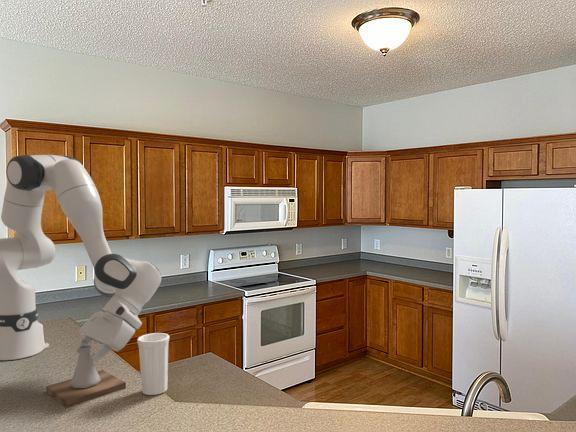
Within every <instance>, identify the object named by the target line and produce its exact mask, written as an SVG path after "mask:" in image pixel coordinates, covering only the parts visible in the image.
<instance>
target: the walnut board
mask: <svg viewBox="0 0 576 432" xmlns="http://www.w3.org/2000/svg"><path fill="white" fill-rule="evenodd" d="M97 372H98V374H99V376H100V379H101V381H100V382H99V383H97V384H96V385H94V386H91V387H88V388H73V387H71V386H70V383H71V380H72V378H69V379H66V380H63V381H59V382H55V383H53V384H48V385H46V393H47V394H48V395H50V396H52V398H54V399H55V400H56V401H58V402H59V403H61V405H63V406H64V407H66V408H70V407H74V406H76V405H79V404H82V403H85V402H88V401H92V400H94V399H97V398H101V397H103V396H107V395H109V394H112V393H116V392H118V391H121V390H125V389H127V383H126V381H124V380H122V379H120V378H118V377H116V376H115V375H113V374H111V373H110V372H107V371H105V370H103V369H101V370H97Z"/></svg>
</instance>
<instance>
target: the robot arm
mask: <svg viewBox="0 0 576 432" xmlns="http://www.w3.org/2000/svg"><path fill="white" fill-rule="evenodd" d="M5 171H6V173H5V174H6V178H7V184H6V188H5V192H4V197H3V202H2V203H3V204H2V208H1V209H2V210H1V215H0V216H1V218H0V219H1V221H2V223H3V225H5V227H7V228H8V229H10V230H12V231H15V232H16V234H15V236H13V237H6V238H5V237H4V238H0V361H12V360H19V359H25V358H27V357H28V358H29V357H31V356H35V355H38V354H39V353H41V352H42V351H43V350H45V349H47V348H49V347H50V344H49V343H48V342H45V337H44V326H43V324H42V323H40V322H39V321H38V316H39V313H38V309H37V303H36V288H35V287H34V285H33V284H32V283H30V282H29V281H27V280H22V279H20V278H19V275H18V271H20V270H29V269H35V268H36V269H37V268H39V267H43V266H46V265H48V264H51V263H52V262H53V261H54V258H55V257H56V246H55V243H54V242H53V241H52V239H50V237H48V236H46V235H45V233H44V231H43V229H42V214H43V207H44V202H45V194H46V191H47V192H48V191H53V192H54V195H55V198H56V200H57V202H58V204H59V206H60V208H61V210H62V211H63V214H64V216H65V217H66V218H67V221H69V222H70V224H71V225H72V227H73V228H74V230H75V231H76V233H77V234H78V236H79V238H80V239H81V241H82V242H83V245H84V247H85V250H86V252H87V254H88V257H89V259H90V262H91V264H92V267H93V274H94V275H93V285H94V288H95V290H96V292H97V293H98V294H99V295H101V296H103V297H107V298H110V299H109V301H108V302H106V304H105V305H104V306H103V308H102V309H100V310H99V311H96V312H94V313H93V314H92V315H91V316H90V317H89V318H88V319H87V320H86V321H85V323H83V325H82V326H81V327H80V328H79V334H81V335H82V337H81V338H80V341H79V344H78V346H77V347H76V348H75V352H76V353H77V354H79V350H78V349H77V348H78V347H79V346H83V345H89V344H91V342H92V341H93V342H95V343H97V344H100V348H99V349H98V350H97V351H96V352H93V353H92V354H91V357H90V359H91V360H92V361H93V363H96V364H97V363H98V362H99V361H100V360H101V359H102V358H103V357H104V356H105V355H107V354H108V353H109V352H110V351H111V350H112V351H115V352H120V351H121V350H122V349H123V348H125V346H126V345H127V343H128V342H129V341H130V340H131V339H132V337H133V336H134V335H135V333H136V330H139V329H140V328H141V326H142V324H143V322H142V321H141V319H140V318H139V316H138V315H139V314H140V313H141V311H142V309H143V306H145V304H147V303H148V302H149V301H150V300H151V298H152V297H153V296H154V294H155V293H156V292H157V290H158V288H159V287H160V285H161V282H162V274H161V272H160V270H159V269H158V268H157V266H156V265H154V264H153V263H152V262H150V261H148V260H136V259H131V258H127V257H126V256H125V257H124V256H122V255H120V254H117V253H112V251H111V248H110V246H109V243H108V241H107V239H106V235H105V233H104V226H103V225H104V223H103V221H104V220H103V219H104V218H103V211H104V210H103V205H102V201H101V197H100V194H99V192H98V189H97V187H96V184H95V182H94V181H93V178H92V177H91V175H90V174H89V172H88V171H87V169H86V168H85V167H84V165H83V164H82V163H81V162H80V161H79V160H78V159H77V158H75V157H72V156H68V155H56V154H46V153H45V154H34V155H33V154H31V155H28V154H20V155H16V156H14V157H12V158H11V159H10V160H9V162H8V163H7V165H6V169H5Z"/></svg>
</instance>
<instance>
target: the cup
mask: <svg viewBox="0 0 576 432" xmlns="http://www.w3.org/2000/svg"><path fill="white" fill-rule="evenodd" d="M136 342H137V346H138V351H139V352H138V353H139V366H140V375H141V376H140V377H141V379H140V380H141V391H142V394H145V395H147V396H154V395H160V394H163V393H164V392H167V390H168V382H169V381H168V375H169V369H168V368H169V342H170V335H169V334H168V333H164V332H153V333H146V334H143V335H141V336H138V338H137V340H136Z"/></svg>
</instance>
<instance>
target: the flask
mask: <svg viewBox="0 0 576 432" xmlns="http://www.w3.org/2000/svg"><path fill="white" fill-rule="evenodd" d="M78 346H79V345H78ZM78 346H77V347H78ZM77 347H76V348H77ZM91 348H92V345H89V344H87V345H83V346H79V347H78V348H77V349H78V350H79V353H78V357H77V358H78V359H77V362H76V366H75V370H74V372H73V375H72V377H71V379H72V380H71V383H70V386H71V387H73V388H88V387H91V386H94V385H96V384H97V383H99V382H100V381H101V379H100V376H99V374H98V372H97V371H98V370H97V369H96V366H95V364H94V361H92V360H91V359H90V357H91V356H92V354H91Z"/></svg>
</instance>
